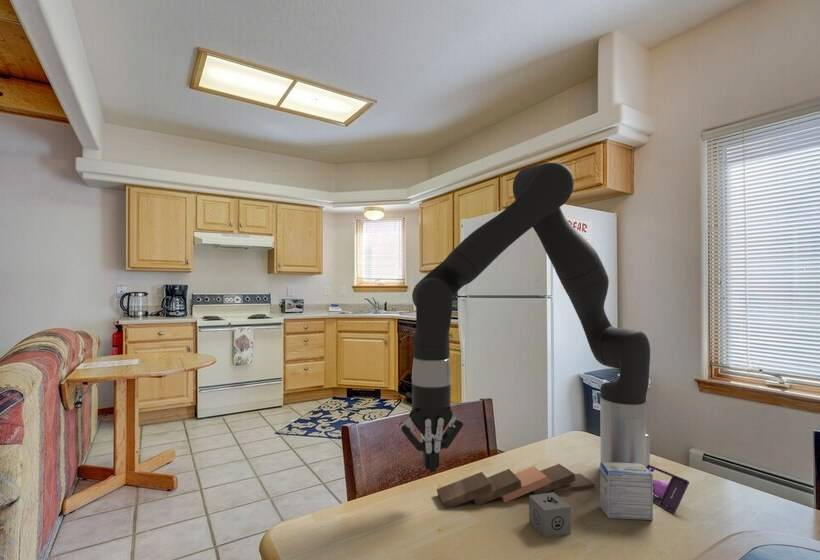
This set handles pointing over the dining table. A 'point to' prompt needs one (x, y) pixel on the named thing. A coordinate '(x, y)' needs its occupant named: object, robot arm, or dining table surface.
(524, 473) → the domino
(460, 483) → the domino
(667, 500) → the purple window box
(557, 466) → the domino
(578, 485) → the domino
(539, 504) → the dice cube
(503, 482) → the domino
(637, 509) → the medicine box
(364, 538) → the dining table surface
